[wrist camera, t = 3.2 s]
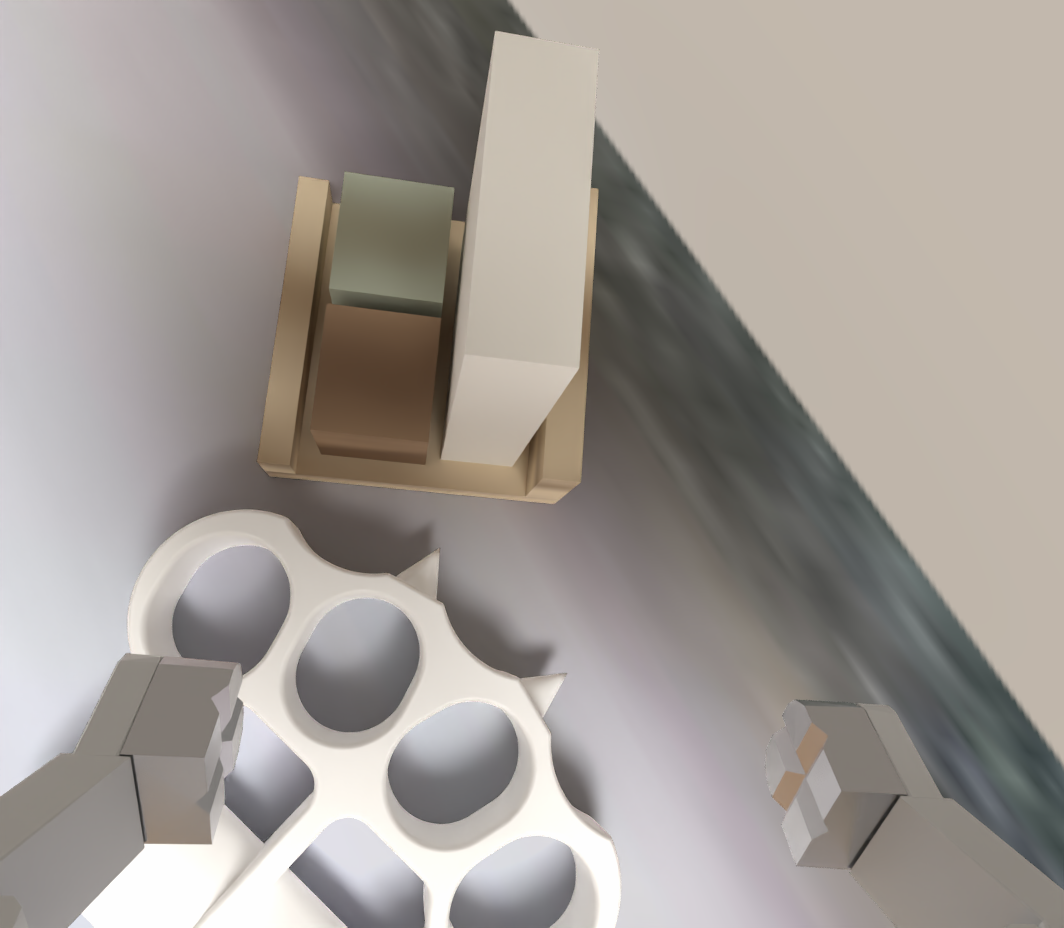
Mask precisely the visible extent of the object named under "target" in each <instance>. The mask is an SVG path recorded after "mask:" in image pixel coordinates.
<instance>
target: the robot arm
mask: <svg viewBox="0 0 1064 928" xmlns="http://www.w3.org/2000/svg"><path fill="white" fill-rule="evenodd" d="M241 684H242V669H241V664H240V663H235V662H224V661H214V660H203V659H192V658H181V657H170V656H155V655H143V654H131V653H126V654H125V655H124V656H123V657H122V658H121V659H120V660H119V661H118V662H117V664H116V666H115V668H114V670H113V672H112V674H111V677H110V679H109V681H108V683H107V685H106V687H105V689H104V691H103V693H102V695H101V697H100V699H99V701H98V703H97V705H96V707H95V709H94V711H93V713H92V715H91V717H90V719H89V721H88V723H87V725H86V727H85V729H84V731H83V733H82V735H81V737H80V739H79V741H78V743H77V745H76V748H75V750H74V752H73V753H60V754H59V755H57V756H56V757H55V758H53V759H52V760H50V761H49V762H48V763H46V764H45V765H43V766H42V767H41V768H39V769H38V770H37V771H35V772H34V773H32V774H31V775H30V776H28V777H27V778H25V779H24V780H23V781H21V782H20V783H18V784H17V785H16V786H14V787H13V788H11V789H10V790H9V791H7V792H6V793H5V794H3V795H2V796H0V928H68V927H69V926H70V925H71V924H72V923H73V922H74V920H75V919H76V918H77V917H78V916H79V915H80V914H81V913H82V912H83V911H84V910H85V909H86V908H87V907H88V906H89V905H90V904H91V903H92V902H93V901H94V900H95V899H96V898H97V897H98V896H99V895H100V894H101V893H102V892H103V891H104V890H105V888H106V887H107V886H108V885H109V884H110V883H111V882H112V881H113V880H114V879H115V878H116V877H117V876H118V875H119V874H120V873H121V872H122V871H123V870H124V869H125V868H126V867H127V866H128V865H129V864H130V863H131V862H132V861H133V860H134V859H135V858H136V856H137V855H138V854H139V853H140V852H141V851H142V850H143V849H144V848H145V846H144V844H210V845H212V842H213V839H214V835H215V832H216V829H217V825H218V822H219V818H220V815H221V812H222V808H223V805H224V801H225V788H224V778H225V777H226V776H228V775H229V774H230V773H231V772H232V771H233V770H234V767H235V763H236V759H237V756H238V752H239V746H240V741H241V735H242V730H243V716H244V711H243V702H242V701H241V700H240V699H239V698H238V694H239V690H240V687H241ZM782 717H783V719H784V722H785V724H786V726H785V727H784V728H782V729H781V730H779V731H778V732H776V733H775V734H773V735H772V737H771V739H770V742H769V744H768V746H767V749H766V757H765V773H766V779H767V784H768V787H769V790H770V793H771V796H772V798H773V799H774V800H775V801H776V802H777V803H778V804H779V805H780V806H781V807H783V808H784V809H785V810H786V813H785V816H784V818H783V821H782V824H781V825H782V828H783V831H784V834H785V836H786V839H787V842H788V845H789V848H790V851H791V853H792V856H793V859H794V862H795V865H796V866H800V867H815V868H830V869H845V870H851V871H850V872H849V873H850V874H851V875H852V877H853V878H854V879H855V880H856V881H857V882H858V884H859V885H860V886H861V887H862V888H863V889H864V891H865V892H866V893H867V894H868V895H869V896H870V897H871V899H872V900H873V901H874V902H875V903H876V904H877V906H878V907H879V908H880V909H881V910H882V911H883V913H884V914H885V915H886V916H887V917H888V918H889V920H890V921H891V922H892V923H893V924H894V925H895V927H896V928H1064V890H1063V889H1061V888H1060V887H1059V886H1058V885H1056V884H1055V883H1054V882H1053V881H1052V880H1050V879H1049V878H1048V877H1047V876H1046V875H1044V874H1043V873H1042V872H1041V871H1039V870H1038V869H1037V868H1036V867H1035V866H1033V865H1032V864H1031V863H1030V862H1028V861H1027V860H1026V859H1025V858H1024V857H1022V856H1021V855H1020V854H1019V853H1017V852H1016V851H1015V850H1014V849H1013V848H1011V847H1010V846H1009V845H1008V844H1007V843H1005V842H1004V841H1003V840H1002V839H1000V838H999V837H998V836H997V835H996V834H994V833H993V832H992V831H991V830H989V829H988V828H987V827H986V826H985V825H983V824H982V823H981V822H980V821H978V820H977V819H976V818H975V817H974V816H972V815H971V814H970V813H969V812H968V811H966V810H965V809H964V808H963V807H961V806H960V805H959V804H958V803H957V802H955V801H954V800H953V799H949V798H943V797H942V796H941V794H940V792H939V790H938V788H937V786H936V785H935V783H934V781H933V779H932V777H931V776H930V774H929V772H928V770H927V768H926V766H925V765H924V763H923V761H922V759H921V757H920V756H919V754H918V752H917V750H916V748H915V746H914V745H913V743H912V741H911V739H910V737H909V736H908V734H907V732H906V730H905V728H904V726H903V725H902V723H901V721H900V719H899V717H898V716H897V714H896V712H895V711H894V710H893V709H892V708H890V707H889V706H888V705H874V704H858V703H857V704H854V703H848V702H830V701H812V700H794V701H792V702H791V703H789V704H788V705H787V707H786V709H785V711H784V713H783V715H782Z"/></svg>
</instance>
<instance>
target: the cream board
mask: <svg viewBox="0 0 1064 928" xmlns="http://www.w3.org/2000/svg"><path fill="white" fill-rule="evenodd" d="M598 61H599V49H594V48H588V47H583V46H577V45H572V44H566V43H561V42H555V41H549V40H544V39H538V38H533V37H527V36H521V35H516V34H510V33H505V32H499V31H495V36H494V42H493V48H492V55H491V61H490V68H489V74H488V80H487V87H486V93H485V100H484V106H483V112H482V119H481V125H480V132H479V138H478V144H477V151H476V157H475V164H474V170H473V176H472V183H471V189H470V195H469V202H468V208H467V215H466V221H465V227H464V234H463V240H462V247H461V257H460V267H459V277H458V287H457V297H456V308H455V318H454V328H453V338H452V348H451V358H450V369H449V379H448V389H447V399H446V409H445V419H444V430H443V440H442V450H441V460H451V461H461V462H470V463H480V464H490V465H499V466H509V467H512V466H513V465H514V463H515V462H516V460H517V459H518V457H519V456H520V455H521V453H522V452H523V450H524V449H525V447H526V446H527V444H528V443H529V441H530V440H531V438H532V437H533V435H534V434H535V433H536V431H537V430H538V428H539V427H540V425H541V424H542V422H543V421H544V419H545V418H546V416H547V415H548V413H549V412H550V411H551V409H552V408H553V406H554V405H555V403H556V402H557V400H558V399H559V397H560V396H561V394H562V393H563V391H564V390H565V388H566V387H567V386H568V384H569V383H570V381H571V380H572V378H573V377H574V375H575V374H576V372H577V371H578V369H579V366H580V350H581V334H582V318H583V302H584V286H585V270H586V254H587V237H588V221H589V205H590V189H591V173H592V157H593V141H594V125H595V109H596V93H597V77H598Z"/></svg>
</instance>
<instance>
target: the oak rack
mask: <svg viewBox="0 0 1064 928" xmlns="http://www.w3.org/2000/svg"><path fill="white" fill-rule="evenodd" d="M598 190H599V189H596V188H591V189H590V205H589V221H588V237H587V254H586V270H585V286H584V302H583V318H582V334H581V350H580V366H579V369H578V371H577V372H576V374H575V375H574V377H573V378H572V380H571V381H570V383H569V384H568V386H567V387H566V388H565V390H564V391H563V393H562V394H561V396H560V397H559V399H558V400H557V402H556V403H555V405H554V406H553V408H552V409H551V411H550V412H549V413H548V415H547V416H546V418H545V419H544V421H543V422H542V424H541V425H540V427H539V428H538V430H537V431H536V433H535V434H534V435H533V437H532V438H531V440H530V441H529V443H528V444H527V446H526V447H525V449H524V450H523V452H522V453H521V455H520V456H519V457H518V459H517V460H516V462H515V463H514V465H513V466H512V467H509V466H499V465H490V464H480V463H470V462H461V461H451V460H441V450H442V440H443V430H444V419H445V409H446V399H447V389H448V379H449V369H450V358H451V348H452V338H453V328H454V318H455V308H456V297H457V287H458V277H459V267H460V257H461V247H462V240H463V234H464V227H465V222H461V221H454V220H451V228H450V237H449V247H448V257H447V267H446V277H445V286H444V296H443V305H442V313H441V326H440V335H439V345H438V355H437V365H436V375H435V384H434V394H433V404H432V414H431V424H430V433H429V443H428V450H427V457H426V464H425V465H420V464H410V463H401V462H391V461H381V460H371V459H361V458H352V457H342V456H332V455H322V454H321V453H320V450H319V448H318V446H317V444H316V442H315V440H314V437H313V435H312V433H311V431H310V425H311V417H312V410H313V403H314V395H315V388H316V380H317V373H318V365H319V358H320V351H321V343H322V336H323V328H324V321H325V314H326V306H327V303H328V304H332V300H331V296H330V291H329V284H330V276H331V269H332V262H333V254H334V247H335V239H336V232H337V224H338V217H339V210H340V204H337V203H333V202H332V196H331V190H330V183H329V180H322V179H316V178H309V177H302V176H299V180H298V187H297V194H296V200H295V207H294V214H293V221H292V228H291V234H290V241H289V248H288V255H287V261H286V268H285V275H284V282H283V288H282V295H281V302H280V309H279V316H278V322H277V329H276V336H275V343H274V349H273V356H272V363H271V370H270V376H269V383H268V390H267V397H266V403H265V410H264V417H263V424H262V431H261V437H260V444H259V451H258V458H257V462H258V464H259V465H260V466H261V467H262V468H263V469H264V471H265V472H266V473H267V474H268V475H269V476H271V477H281V478H292V479H302V480H312V481H322V482H333V483H343V484H353V485H363V486H374V487H384V488H394V489H404V490H415V491H425V492H435V493H445V494H456V495H466V496H476V497H486V498H497V499H507V500H517V501H528V502H538V503H548V504H555V503H556V502H557V501H559V500H560V499H561V498H562V497H563V496H565V495H566V494H567V493H568V492H570V491H571V490H572V489H573V488H574V487H576V486H577V485H578V484H579V483H581V473H582V456H583V439H584V423H585V406H586V390H587V373H588V356H589V340H590V323H591V306H592V290H593V273H594V256H595V240H596V223H597V207H598Z"/></svg>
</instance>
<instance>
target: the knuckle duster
mask: <svg viewBox="0 0 1064 928" xmlns="http://www.w3.org/2000/svg"><path fill="white" fill-rule="evenodd" d="M236 546H257V547H261V548H265V549H267V550H270V551H271V552H272V553H273V554H274V555H275V556H276V557H277V558H278V559H279V561H280V562H281V564H282V565H283V567H284V569H285V571H286V573H287V576H288V579H289V584H290V593H291V595H290V606H289V610H288V614H287V616H286V619H285V621H284V623H283V625H282V627H281V629H280V631H279V632H278V634H277V636H276V638H275V639H274V641H273V643H272V645H271V646H270V648H269V650H268V651H267V653H266V654H265V656H264V657H263V658H262V660H261V661H260V662H259V663H258V664H257V665H256V666H255V667H254V668H252V669H251V670H250V671H249V672H247V673H246V674H244V675H242V684H241V687H240V690H239V694H238V698H239V699H240V700H241V701H242V702H243V705H244V706H246V707H248V708H250V709H251V710H252V711H253V712H254V713H255V714H256V715H257V716H258V717H259V718H260V719H261V720H262V721H263V722H264V723H265V724H266V725H267V726H268V727H269V728H270V729H271V730H272V731H273V732H274V733H275V734H276V735H277V736H278V737H279V738H280V739H281V740H282V741H283V742H284V743H285V744H286V745H287V746H288V747H289V748H290V749H291V750H292V751H293V752H294V753H295V754H296V755H297V756H298V757H299V758H300V759H301V760H302V761H303V762H304V763H305V764H306V765H307V766H308V767H309V768H310V770H311V772H312V774H313V777H314V791H313V792H312V793H311V794H310V795H309V796H308V797H307V798H306V799H305V800H304V801H303V803H302V804H301V805H300V806H299V807H298V808H297V809H296V810H295V811H294V812H293V813H292V814H291V815H290V816H289V817H288V818H287V819H286V821H285V822H284V823H283V824H282V825H281V826H280V827H279V828H278V829H277V830H276V831H275V832H274V833H273V834H272V835H271V836H270V837H269V839H268V840H267V841H266V842H265V843H263V842H262V841H261V840H260V839H259V838H258V837H257V836H256V835H255V834H254V833H253V832H252V831H251V830H250V829H249V828H248V827H247V826H246V825H245V824H244V823H243V822H242V821H241V820H240V819H239V818H238V817H237V816H236V815H235V814H234V813H233V812H232V811H231V810H230V809H229V808H228V807H227V806H226V805H225V804H224V805H223V808H222V812H221V815H220V818H219V822H218V825H217V829H216V832H215V835H214V839H213V842H212V845H210V844H144V846H145V848H144V849H143V850H142V851H141V852H140V853H139V854H138V855H137V856H136V858H135V859H134V860H133V861H132V862H131V863H130V864H129V865H128V866H127V867H126V868H125V869H124V870H123V871H122V872H121V873H120V874H119V875H118V876H117V877H116V878H115V879H114V880H113V881H112V882H111V883H110V884H109V885H108V886H107V887H106V888H105V890H104V891H103V892H102V893H101V894H100V895H99V896H98V897H97V898H96V899H95V900H94V901H93V902H92V903H91V904H90V905H89V906H88V907H87V908H86V909H85V910H84V911H83V912H82V913H81V914H82V915H83V916H84V917H85V918H86V919H87V920H88V921H89V922H90V923H91V924H92V925H93V926H94V927H95V928H348V927H347V926H346V925H345V924H344V923H343V922H342V921H341V920H340V919H339V918H338V917H337V916H336V915H335V914H334V913H333V912H332V911H331V910H330V909H329V908H328V907H327V906H326V905H325V904H324V903H323V902H322V901H321V900H320V899H319V898H318V897H317V896H316V895H315V894H314V893H313V892H312V891H311V890H310V889H309V888H308V887H307V886H306V885H305V884H304V883H303V882H302V881H301V880H300V879H299V878H298V877H297V876H296V875H295V874H294V873H293V872H292V871H291V870H290V869H289V867H290V866H291V865H292V863H293V862H294V861H295V860H296V859H297V858H298V857H299V856H300V855H301V854H302V853H303V852H304V851H305V849H306V848H307V847H308V846H309V845H310V844H311V843H312V842H313V841H314V840H315V839H316V838H317V836H318V835H319V834H320V833H321V832H322V831H323V830H324V829H325V828H326V827H327V826H328V825H329V824H330V823H332V822H334V821H336V820H338V819H341V818H355V819H358V820H361V821H362V822H364V823H365V824H366V825H367V826H369V827H370V828H371V829H372V830H373V831H374V832H375V833H376V834H377V835H378V836H379V837H380V838H381V839H382V840H383V841H384V842H385V843H386V844H387V845H388V846H389V847H390V848H391V849H392V850H393V851H394V852H395V853H396V854H397V855H398V856H399V857H400V858H401V859H402V860H403V861H404V862H405V863H406V864H407V865H408V866H409V867H410V868H411V869H412V870H413V871H414V872H415V873H416V874H417V875H418V876H419V877H420V878H421V879H422V880H423V882H424V888H423V903H424V915H425V925H424V928H454V927H453V925H452V924H451V922H450V920H449V914H450V907H451V903H452V900H453V897H454V894H455V892H456V889H457V887H458V886H459V884H460V882H461V881H462V879H463V878H464V876H465V875H466V874H467V873H468V872H469V871H470V870H471V868H473V867H474V866H475V865H476V864H477V863H479V862H480V861H481V860H483V859H484V858H486V857H488V856H489V855H491V854H492V853H494V852H495V851H497V850H498V849H500V848H501V847H503V846H504V845H506V844H508V843H510V842H512V841H514V840H516V839H519V838H523V837H527V836H546V837H550V838H554V839H556V840H559V841H561V842H563V843H565V844H566V845H568V846H569V847H570V848H571V851H572V853H573V857H574V861H575V867H576V882H575V888H574V892H573V895H572V898H571V901H570V903H569V905H568V907H567V909H566V910H565V912H564V913H563V915H562V916H561V917H560V918H559V919H558V920H557V921H556V922H555V923H554V924H553V925H552V926H551V927H549V928H615V925H616V921H617V918H618V913H619V908H620V900H621V873H620V865H619V860H618V856H617V852H616V849H615V846H614V843H613V840H612V838H611V836H610V835H609V834H608V833H607V832H606V831H605V830H604V829H603V828H602V827H601V826H600V825H599V824H598V823H597V822H596V821H595V820H594V819H593V818H592V817H591V816H590V815H587V814H585V813H583V812H581V811H580V810H578V809H577V808H575V807H574V806H572V805H571V804H570V802H569V801H568V799H567V798H566V796H565V794H564V793H563V791H562V789H561V787H560V784H559V782H558V779H557V777H556V773H555V770H554V766H553V761H552V753H551V732H550V730H549V728H548V727H547V725H546V723H545V722H544V720H543V717H544V715H545V713H546V711H547V710H548V708H549V706H550V704H551V702H552V700H553V699H554V697H555V695H556V693H557V691H558V689H559V688H560V686H561V684H562V682H563V680H564V679H565V677H566V675H567V673H561V674H552V675H544V676H535V677H526V678H519V677H517V676H515V675H512V674H510V673H507V672H504V671H500V670H496V669H494V668H492V667H490V666H488V665H487V664H485V663H484V662H482V661H481V660H479V659H478V658H477V657H476V656H474V655H473V654H472V653H471V652H470V651H469V650H468V649H467V648H466V647H465V646H464V644H463V643H462V642H461V640H460V639H459V638H458V636H457V635H456V633H455V631H454V629H453V627H452V625H451V623H450V621H449V619H448V616H447V613H446V609H445V606H444V604H443V603H442V602H440V601H438V600H436V599H437V584H438V569H439V554H440V548H439V549H437V550H436V551H434V552H432V553H431V554H429V555H428V556H426V557H425V558H423V559H422V560H420V561H419V562H417V563H416V564H414V565H413V566H411V567H409V568H408V569H406V570H405V571H403V572H402V573H400V574H399V575H397V576H396V577H395V576H393V575H391V574H390V573H379V574H370V573H360V572H354V571H350V570H347V569H344V568H341V567H338V566H336V565H334V564H332V563H330V562H328V561H326V560H324V559H323V558H321V557H320V556H319V555H317V554H316V553H315V552H314V551H313V550H312V549H311V548H310V546H309V545H308V544H307V542H306V541H305V539H304V538H303V536H302V534H301V532H300V530H299V529H298V528H297V526H296V525H295V524H294V523H293V522H292V521H291V520H290V519H289V518H287V517H285V516H282V515H279V514H276V513H272V512H267V511H261V510H250V509H242V510H230V511H224V512H219V513H215V514H212V515H209V516H206V517H203V518H201V519H198V520H196V521H194V522H192V523H190V524H188V525H186V526H185V527H183V528H181V529H180V530H178V531H177V532H176V533H174V534H173V535H172V536H170V537H169V538H168V539H167V540H166V541H165V542H164V543H162V544H161V545H160V546H159V548H158V549H157V550H156V551H155V552H154V553H153V554H152V556H151V557H150V558H149V560H148V561H147V563H146V564H145V566H144V567H143V569H142V571H141V572H140V574H139V576H138V578H137V581H136V583H135V585H134V588H133V591H132V594H131V598H130V602H129V608H128V616H127V633H128V641H129V646H130V651H131V654H143V655H155V656H170V657H181V655H180V654H179V652H178V650H177V648H176V645H175V642H174V639H173V633H172V619H173V614H174V610H175V607H176V604H177V602H178V600H179V598H180V597H181V595H182V593H183V592H184V590H185V588H186V587H187V585H188V583H189V582H190V580H191V578H192V577H193V575H194V574H195V572H196V571H197V569H198V568H199V567H200V566H201V565H202V564H203V563H204V562H205V561H206V560H207V559H209V558H210V557H211V556H213V555H214V554H216V553H218V552H220V551H222V550H225V549H228V548H231V547H236ZM359 598H373V599H379V600H382V601H385V602H388V603H390V604H392V605H394V606H395V607H397V608H398V609H399V610H401V611H402V612H403V613H404V614H405V615H406V616H407V617H408V619H409V620H410V621H411V623H412V625H413V626H414V629H415V631H416V633H417V637H418V641H419V648H420V656H419V663H418V667H417V670H416V673H415V676H414V678H413V680H412V682H411V684H410V686H409V687H408V689H407V691H406V693H405V695H404V697H403V699H402V701H401V703H400V704H399V706H398V707H397V709H396V710H395V711H394V712H393V713H392V714H391V715H390V716H389V717H388V718H387V719H386V720H385V721H383V722H382V723H380V724H378V725H377V726H375V727H372V728H370V729H367V730H364V731H359V732H340V731H335V730H332V729H329V728H327V727H325V726H323V725H321V724H320V723H318V722H317V721H316V720H314V719H313V718H312V717H311V716H310V715H309V713H308V712H307V711H306V710H305V708H304V706H303V705H302V703H301V701H300V698H299V695H298V692H297V687H296V670H297V665H298V661H299V658H300V655H301V653H302V651H303V649H304V647H305V646H306V644H307V642H308V640H309V638H310V637H311V635H312V633H313V631H314V629H315V628H316V626H317V624H318V623H319V622H320V620H321V619H322V618H323V617H324V616H325V615H326V614H327V613H328V612H329V611H330V610H332V609H333V608H335V607H336V606H338V605H340V604H342V603H344V602H347V601H350V600H353V599H359ZM181 658H182V657H181ZM462 702H483V703H487V704H491V705H493V706H496V707H498V708H500V709H501V710H502V711H503V712H504V713H505V714H506V715H507V716H508V718H509V719H510V721H511V723H512V725H513V727H514V729H515V732H516V735H517V740H518V748H519V753H518V762H517V766H516V770H515V773H514V775H513V777H512V779H511V781H510V783H509V784H508V786H507V787H506V789H505V790H504V791H503V792H502V793H501V794H500V795H499V796H498V797H497V798H496V799H495V800H493V801H492V802H490V803H489V804H487V805H486V806H484V807H482V808H481V809H479V810H478V811H476V812H475V813H473V814H471V815H470V816H468V817H466V818H464V819H462V820H459V821H456V822H453V823H447V824H435V823H429V822H425V821H422V820H420V819H418V818H416V817H414V816H412V815H411V814H410V813H408V812H407V811H406V810H405V809H404V808H403V807H402V806H401V805H400V804H399V802H398V801H397V799H396V798H395V796H394V794H393V792H392V789H391V787H390V783H389V779H388V765H389V762H390V759H391V756H392V754H393V752H394V750H395V748H396V746H397V745H398V743H399V742H400V740H401V739H402V738H403V737H404V736H405V735H406V734H407V733H408V732H409V731H410V730H411V729H412V728H413V727H415V726H416V725H418V724H419V723H421V722H423V721H424V720H426V719H428V718H429V717H431V716H433V715H434V714H436V713H438V712H439V711H441V710H443V709H445V708H447V707H449V706H451V705H454V704H457V703H462Z"/></svg>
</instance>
